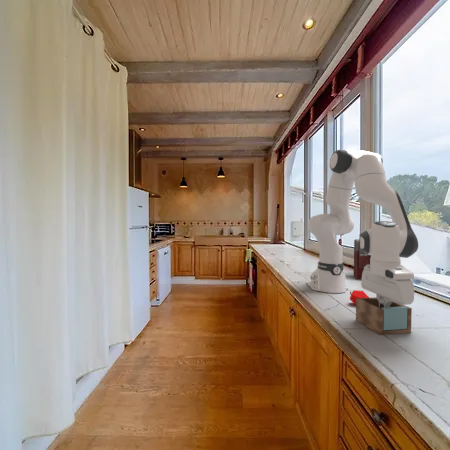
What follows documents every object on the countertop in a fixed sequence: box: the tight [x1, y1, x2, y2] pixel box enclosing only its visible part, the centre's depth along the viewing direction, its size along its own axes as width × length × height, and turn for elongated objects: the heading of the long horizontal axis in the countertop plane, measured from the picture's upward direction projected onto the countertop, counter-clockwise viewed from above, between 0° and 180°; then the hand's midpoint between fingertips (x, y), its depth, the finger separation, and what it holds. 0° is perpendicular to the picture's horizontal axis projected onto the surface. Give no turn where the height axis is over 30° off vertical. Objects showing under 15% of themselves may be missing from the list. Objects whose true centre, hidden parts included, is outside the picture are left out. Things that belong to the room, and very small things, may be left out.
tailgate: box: [381, 305, 408, 330], centre depth 85 cm, size 1×8×7 cm, turn 98°
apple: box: [349, 289, 370, 306], centre depth 112 cm, size 7×7×8 cm
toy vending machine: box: [353, 231, 371, 281], centre depth 158 cm, size 9×11×28 cm
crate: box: [355, 297, 413, 335], centre depth 90 cm, size 12×11×8 cm
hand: (384, 308), depth 89 cm, fingers closed
